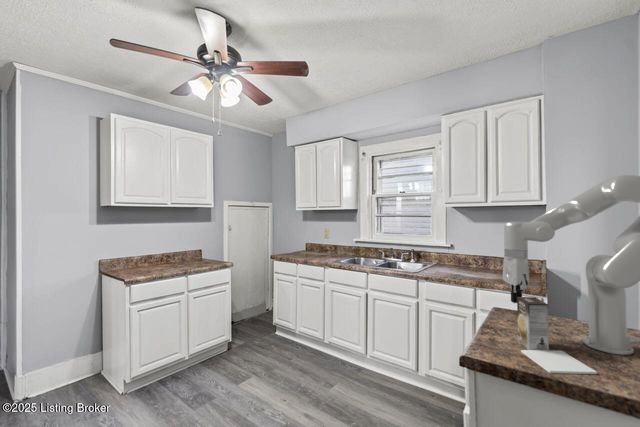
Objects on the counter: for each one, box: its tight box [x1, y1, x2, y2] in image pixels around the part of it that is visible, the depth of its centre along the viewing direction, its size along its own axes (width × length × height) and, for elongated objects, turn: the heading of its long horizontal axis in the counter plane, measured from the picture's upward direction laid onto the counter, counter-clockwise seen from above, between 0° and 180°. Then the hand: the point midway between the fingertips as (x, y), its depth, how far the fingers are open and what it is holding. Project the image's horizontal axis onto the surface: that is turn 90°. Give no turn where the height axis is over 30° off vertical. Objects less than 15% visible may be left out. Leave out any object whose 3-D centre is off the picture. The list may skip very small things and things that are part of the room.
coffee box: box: [516, 296, 550, 350], centre depth 107 cm, size 9×6×16 cm
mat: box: [520, 349, 598, 375], centre depth 95 cm, size 13×14×1 cm
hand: (516, 302), depth 116 cm, fingers closed
